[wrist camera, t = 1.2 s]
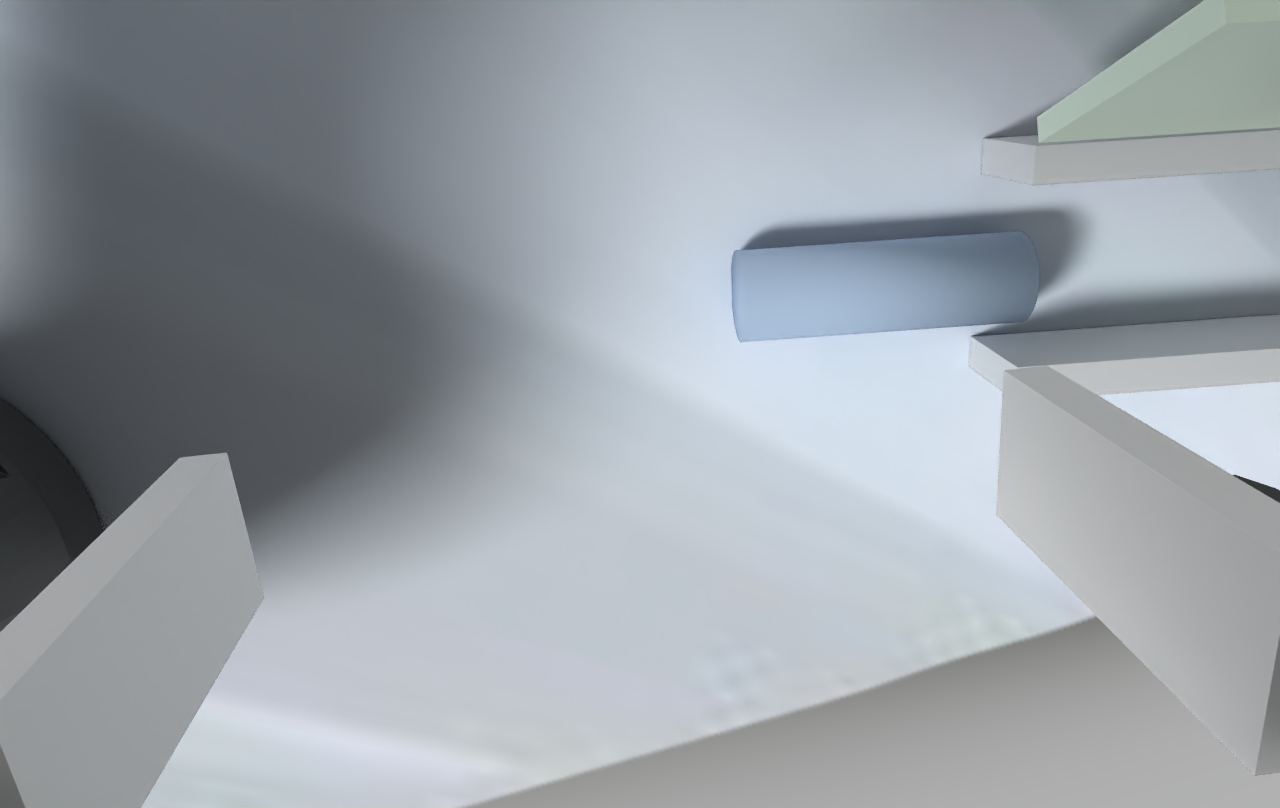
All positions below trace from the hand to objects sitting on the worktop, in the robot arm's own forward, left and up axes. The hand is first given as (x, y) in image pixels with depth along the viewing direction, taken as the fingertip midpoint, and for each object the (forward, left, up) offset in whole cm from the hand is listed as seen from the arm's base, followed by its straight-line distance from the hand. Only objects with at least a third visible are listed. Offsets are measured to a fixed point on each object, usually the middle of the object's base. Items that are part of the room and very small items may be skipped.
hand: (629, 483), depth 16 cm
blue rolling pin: (+10, 0, -19) cm, 21 cm away
